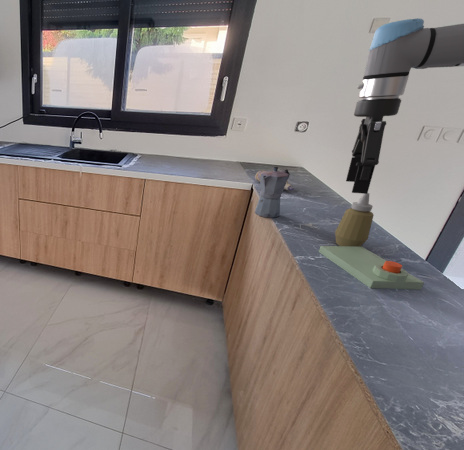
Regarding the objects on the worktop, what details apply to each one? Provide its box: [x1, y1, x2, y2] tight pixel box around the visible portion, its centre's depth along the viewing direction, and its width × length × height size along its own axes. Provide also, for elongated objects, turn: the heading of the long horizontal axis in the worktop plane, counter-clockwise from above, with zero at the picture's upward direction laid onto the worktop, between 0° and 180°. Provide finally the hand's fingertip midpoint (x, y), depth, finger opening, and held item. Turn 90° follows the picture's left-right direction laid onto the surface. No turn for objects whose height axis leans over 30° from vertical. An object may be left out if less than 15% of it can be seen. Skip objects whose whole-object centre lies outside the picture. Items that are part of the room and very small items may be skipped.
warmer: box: [318, 245, 425, 290], centre depth 88 cm, size 12×20×4 cm, turn 175°
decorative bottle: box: [254, 169, 295, 191], centre depth 162 cm, size 26×8×7 cm, turn 0°
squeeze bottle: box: [334, 192, 374, 247], centre depth 98 cm, size 8×8×18 cm
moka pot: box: [254, 166, 291, 219], centre depth 125 cm, size 10×15×20 cm, turn 117°
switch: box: [382, 260, 403, 273], centre depth 80 cm, size 3×3×2 cm
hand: (355, 187), depth 80 cm, fingers open, 13 cm apart
